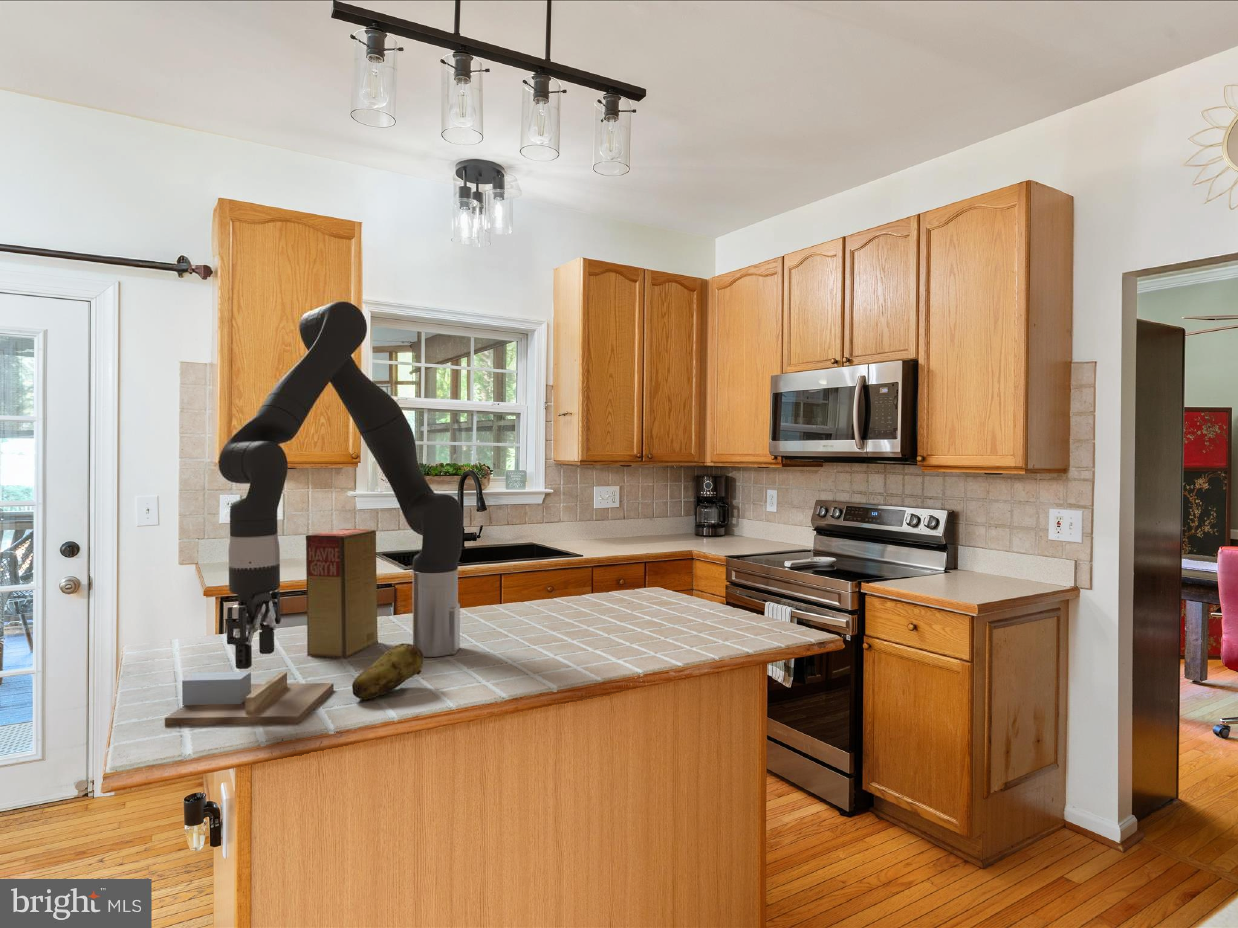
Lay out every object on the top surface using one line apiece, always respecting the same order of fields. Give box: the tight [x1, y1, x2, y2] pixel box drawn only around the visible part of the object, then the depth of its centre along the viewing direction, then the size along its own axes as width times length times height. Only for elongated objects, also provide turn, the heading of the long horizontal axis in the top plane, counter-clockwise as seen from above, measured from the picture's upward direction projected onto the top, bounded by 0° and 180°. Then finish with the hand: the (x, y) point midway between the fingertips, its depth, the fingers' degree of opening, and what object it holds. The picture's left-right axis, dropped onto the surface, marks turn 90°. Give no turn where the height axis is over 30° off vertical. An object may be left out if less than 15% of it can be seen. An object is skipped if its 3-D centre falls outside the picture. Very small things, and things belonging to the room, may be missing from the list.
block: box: [181, 671, 252, 706], centre depth 119 cm, size 4×4×9 cm
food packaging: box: [305, 528, 379, 659], centre depth 155 cm, size 13×9×25 cm
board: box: [164, 671, 334, 727], centre depth 120 cm, size 20×16×4 cm
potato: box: [351, 642, 424, 701], centre depth 127 cm, size 8×13×8 cm, turn 124°
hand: (255, 660), depth 120 cm, fingers open, 8 cm apart
